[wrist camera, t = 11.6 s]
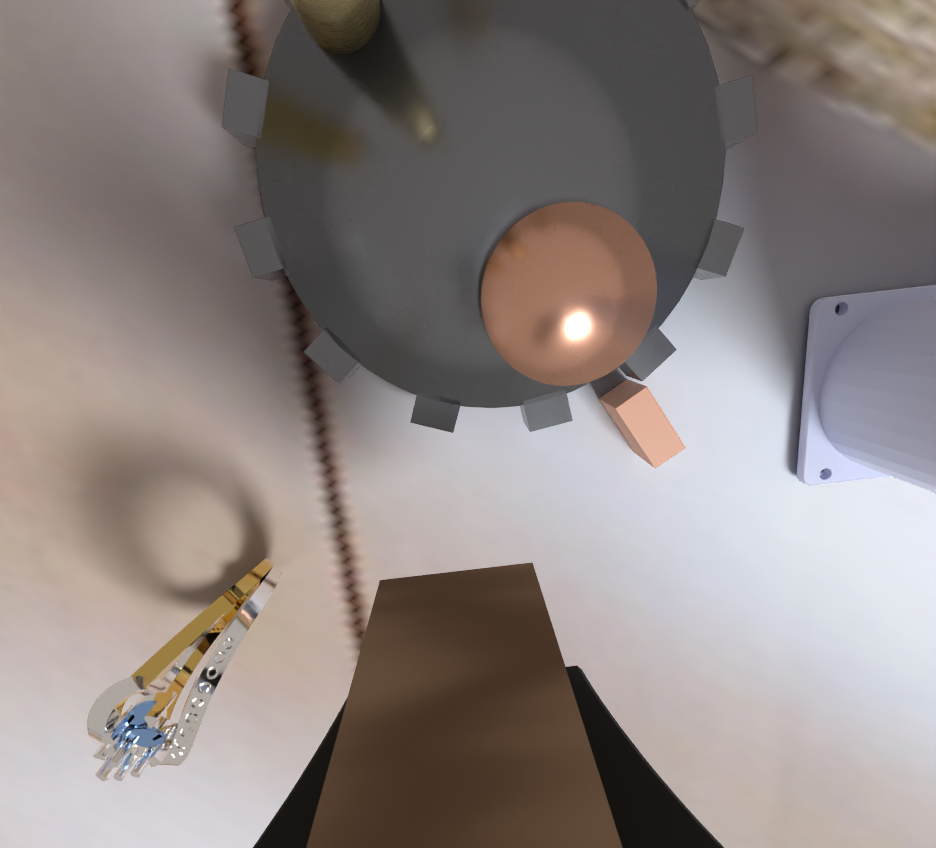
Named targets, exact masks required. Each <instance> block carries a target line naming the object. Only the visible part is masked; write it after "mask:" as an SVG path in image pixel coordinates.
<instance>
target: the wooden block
mask: <svg viewBox="0 0 936 848" xmlns="http://www.w3.org/2000/svg"><path fill="white" fill-rule="evenodd" d="M306 848H622V845H621V841H620V838H619V835H618V832H617V829H616V826H615V822H614V819H613V816H612V813H611V810H610V807H609V803H608V800H607V797H606V794H605V791H604V788H603V785H602V781H601V778H600V775H599V772H598V769H597V766H596V762H595V759H594V756H593V753H592V750H591V747H590V743H589V740H588V737H587V734H586V731H585V728H584V724H583V721H582V718H581V715H580V712H579V709H578V706H577V702H576V699H575V696H574V693H573V690H572V687H571V683H570V680H569V677H568V674H567V671H566V668H565V664H564V661H563V658H562V655H561V652H560V649H559V645H558V642H557V639H556V636H555V633H554V630H553V627H552V623H551V620H550V617H549V614H548V611H547V608H546V604H545V601H544V598H543V595H542V592H541V589H540V585H539V582H538V579H537V576H536V573H535V570H534V566H533V563H525V564H516V565H508V566H499V567H491V568H482V569H473V570H465V571H456V572H448V573H439V574H430V575H422V576H413V577H404V578H396V579H387V580H380V582H379V586H378V590H377V593H376V597H375V600H374V604H373V608H372V611H371V615H370V619H369V622H368V626H367V629H366V633H365V637H364V640H363V644H362V648H361V651H360V655H359V658H358V662H357V666H356V669H355V673H354V677H353V680H352V684H351V687H350V691H349V695H348V698H347V702H346V706H345V709H344V713H343V716H342V720H341V724H340V727H339V731H338V735H337V738H336V742H335V745H334V749H333V753H332V756H331V760H330V764H329V767H328V771H327V774H326V778H325V782H324V785H323V789H322V793H321V796H320V800H319V803H318V807H317V811H316V814H315V818H314V822H313V825H312V829H311V832H310V836H309V840H308V843H307V847H306Z"/></svg>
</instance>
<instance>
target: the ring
mask: <svg viewBox="0 0 936 848" xmlns="http://www.w3.org/2000/svg"><path fill="white" fill-rule="evenodd" d="M281 575H282V572H281V571H280V570H279V569H278V568H277V567H275V566H274V564H273V563H272V562H270V561H269V560H268V559H267V558H266V559H265V560H263V561H262V562H261V563H260V564H259V565H257V566H256V567H255V568H254V569H253V570H252V571H250V572H249V573H248V574H247V575H246V576H244V577H243V578H242V579H241V580H240V581H238V582H237V583H236V584H235V585H234V586H233V587H231V588H230V589H229V590H228V591H227V592H225V593H224V594H223V595H222V596H221V597H220V598H218V599H217V600H216V601H215V602H214V603H213V604H211V605H210V606H209V607H208V608H207V609H206V610H204V611H203V612H202V613H201V614H200V615H199V616H197V617H196V618H195V619H194V620H193V621H192V622H191V623H189V624H188V625H187V626H186V627H185V628H184V629H183V630H181V631H180V632H179V633H178V634H177V635H176V636H175V637H173V638H172V639H171V640H170V641H169V642H168V643H167V644H166V645H165V646H163V647H162V648H161V649H160V650H159V651H158V652H157V653H156V654H155V655H153V656H152V657H151V658H150V659H149V660H148V661H147V662H146V663H145V664H144V665H142V666H141V667H140V668H139V669H138V670H137V671H136V672H135V673H134V674H133V675H132V676H131V677H130V678H127V679H124V680H122V681H119V682H117V683H116V684H114V685H112V686H111V687H109V688H108V689H107V690H105V691H104V692H103V693H102V694H101V695H100V696H99V697H98V698H97V700H96V701H95V702H94V704H93V705H92V707H91V709H90V712H89V715H88V719H87V729H88V734H89V737H90V739H91V740H92V741H94V742H96V743H97V744H99V745H101V746H100V747H99V748H98V750H97V751H96V752H95V753H94V755H93V756H94V757H95V758H98V759H102V760H106V761H105V763H104V764H103V765H102V767H101V768H100V769H99V771H98V772H97V773H96V776H97V777H98V778H99V779H101V780H102V781H105V780H108V779H109V778H110V777H111V775H112V774H113V773H114V771H115V770H116V768H117V767H118V766H119V765H120V764H121V762H122V761H123V759H124V758H125V757H126V755H127V754H128V752H129V751H130V754H129V755H128V757H127V758H126V759H125V761H124V762H123V764H122V765H121V766H120V768H119V769H118V771H117V772H116V773H115V775H114V778H115V779H116V780H119V781H122V780H123V779H124V777H125V776H126V775H127V773H128V772H129V770H130V769H131V767H132V766H133V764H134V763H135V762H136V760H137V759H138V757H141V758H140V760H139V761H138V763H137V764H136V765H135V767H134V768H133V770H132V771H131V775H132V776H134V777H140V775H141V774H142V772H143V771H144V769H145V768H146V766H147V765H148V764H150V765H151V767H153V766H157V765H163V766H178V765H180V764H181V763H182V762H183V761H184V760H185V759H186V757H187V756H188V754H189V752H190V750H191V747H192V745H193V742H194V740H195V737H196V734H197V732H198V729H199V726H200V724H201V721H202V718H203V716H204V713H205V711H206V708H207V706H208V704H209V701H210V699H211V697H212V695H213V693H214V691H215V688H216V686H217V684H218V682H219V680H220V678H221V676H222V674H223V673H224V671H225V669H226V667H227V665H228V663H229V661H230V660H231V658H232V656H233V654H234V653H235V651H236V649H237V648H238V646H239V644H240V642H241V641H242V639H243V637H244V636H245V634H246V633H247V631H248V629H249V628H250V626H251V625H252V623H253V621H254V620H255V618H256V617H257V615H258V614H259V612H260V611H261V609H262V608H263V606H264V605H265V603H266V601H267V600H268V598H269V597H270V595H271V594H272V592H273V590H274V589H275V587H276V585H277V583H278V582H279V580H280V577H281ZM228 623H229V624H228ZM227 624H228V625H227ZM226 625H227V626H226ZM225 627H226V628H225ZM224 628H225V629H224ZM223 629H224V631H223V632H222V634H221V636H220V637H219V639H218V640H217V642H216V643H215V645H214V647H213V648H212V650H211V652H210V653H209V655H208V657H207V659H206V660H205V662H204V664H203V666H202V668H201V670H200V672H199V674H198V676H197V678H196V680H195V682H194V684H193V686H192V689H191V691H190V693H189V696H188V698H187V701H186V703H185V706H184V709H183V711H182V714H181V717H180V720H179V722H178V724H177V723H173V722H172V721H170V717H171V714H172V711H173V708H174V706H175V704H176V701H177V699H178V697H179V695H180V693H181V691H182V689H183V688H184V686H185V684H186V682H187V680H188V679H189V677H190V675H191V674H192V672H193V671H194V669H195V667H196V666H197V664H198V663H199V661H200V660H201V658H202V657H203V655H204V654H205V653H206V651H207V650H208V648H209V647H210V646H211V644H212V643H213V642H214V640H215V639H216V638H217V636H218V635H219V634H220V633H221V631H222V630H223ZM137 693H141V694H142V695H141V697H140V698H139V699H138V700H137V701H136V703H135V704H134V705H131V706H130V708H129V709H128V710H127V711H126V712H125V713H124V714H123V715H122V716H121V712H122V708H123V705H124V703H125V702H126V700H127V699H128V698H129V697H131V696H132V695H134V694H137Z"/></svg>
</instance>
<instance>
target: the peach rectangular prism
mask: <svg viewBox="0 0 936 848" xmlns="http://www.w3.org/2000/svg"><path fill="white" fill-rule="evenodd" d="M599 400H600V402H601V403H602V405H603V406H604V408H605V409H606V411H607V412H608V414H609V415H610V417H611V418H612V420H613V421H614V423H615V424H616V426H617V427H618V429H619V430H620V432H621V433H622V435H623V436H624V438H625V439H626V441H627V442H628V444H629V445H630V447H631V448H632V450H633V451H634V453H636V454H637V455H638V456H640V457H641V458H642V459H643V460H645V461H646V462H647V463H649V464H650V465H651V466H653V467H654V468H657V467H658V466H660V465H661V464H663V463H664V462H666V461H667V460H669V459H670V458H672V457H673V456H675V455H676V454H678V453H679V452H681V451H682V450H684V449H685V448H686V447H685V446H684V444H683V443H682V441H681V440H680V438H679V436H678V435H677V433H676V432H675V430H674V428H673V427H672V425H671V424H670V422H669V421H668V419H667V417H666V416H665V414H664V413H663V411H662V410H661V408H660V406H659V405H658V403H657V402H656V400H655V398H654V397H653V395H652V394H651V392H650V391H649V389H648V387H646V386H644V385H641V384H638V383H636V382H633V381H630V380H628V379H626V380H625V381H623V382H622V383H620V384H619V385H617V386H616V387H615V388H613V389H612V390H610V391H609V392H607V393H606V394H605V395H603V396H602V397H600V398H599Z"/></svg>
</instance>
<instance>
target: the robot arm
mask: <svg viewBox="0 0 936 848" xmlns="http://www.w3.org/2000/svg"><path fill="white" fill-rule="evenodd" d="M838 304H839V306H840V309H839V312H838V313H837V314H836V313H835V308H836V306H837V305H838ZM823 469H824V472H823V474H822V475H821V476H820V472H821V471H822V470H823ZM883 477H894V478H896V479H899V480H902V481H904V482H907V483H910V484H912V485H915V486H918V487H920V488H923V489H926V490H929V491H931V492H934V493H936V285H928V286H919V287H910V288H901V289H893V290H884V291H875V292H866V293H858V294H849V295H840V296H831V297H823V298H820V299H818V300H816V301H815V302H814V303H813V304H812V306H811V309H810V314H809V327H808V340H807V352H806V365H805V377H804V390H803V402H802V415H801V427H800V440H799V452H798V465H797V478H798V480H799V481H800V482H802V483H804V484H806V485H810V486H814V485H822V484H831V483H839V482H848V481H857V480H865V479H874V478H883ZM565 668H566V671H567V674H568V677H569V680H570V683H571V687H572V690H573V693H574V696H575V699H576V702H577V706H578V709H579V712H580V715H581V718H582V721H583V724H584V728H585V731H586V734H587V737H588V740H589V743H590V747H591V750H592V753H593V756H594V759H595V762H596V766H597V769H598V772H599V775H600V778H601V781H602V785H603V788H604V791H605V794H606V797H607V800H608V803H609V807H610V810H611V813H612V816H613V819H614V822H615V826H616V829H617V832H618V835H619V838H620V841H621V845H622V848H724V847H723V846H722V845H721V844H720V843H719V842H718V841H717V840H716V839H715V838H714V837H713V836H712V834H711V833H710V832H709V831H708V830H707V829H706V828H705V827H704V826H703V825H702V824H701V823H700V822H699V821H698V820H697V819H696V817H695V816H694V815H693V814H692V813H691V812H690V811H689V810H688V809H687V808H686V806H685V805H684V804H683V803H682V802H681V801H680V800H679V799H678V797H677V796H676V795H675V794H674V793H673V792H672V790H671V789H670V788H669V787H668V786H667V785H666V783H665V782H664V781H663V780H662V779H661V778H660V776H659V775H658V774H657V773H656V772H655V770H654V769H653V768H652V767H651V765H650V764H649V763H648V762H647V761H646V759H645V758H644V757H643V756H642V754H641V753H640V752H639V750H638V749H637V748H636V747H635V745H634V744H633V743H632V741H631V740H630V739H629V738H628V736H627V735H626V734H625V732H624V731H623V730H622V729H621V727H620V726H619V724H618V723H617V722H616V720H615V719H614V718H613V716H612V715H611V713H610V712H609V711H608V709H607V708H606V706H605V705H604V704H603V702H602V701H601V699H600V698H599V696H598V695H597V693H596V692H595V690H594V689H593V687H592V686H591V684H590V682H589V681H588V679H587V678H586V676H585V674H584V673H583V671H582V669H580V668H579V667H578V666H571V667H565ZM347 698H348V697H347ZM346 702H347V699H346V701H345V703H344V705H343V706H342V708H341V710H340V712H339V713H338V715H337V717H336V719H335V721H334V722H333V724H332V726H331V727H330V729H329V731H328V733H327V734H326V736H325V738H324V739H323V741H322V743H321V744H320V746H319V748H318V749H317V751H316V753H315V754H314V756H313V758H312V759H311V761H310V762H309V764H308V766H307V767H306V769H305V770H304V772H303V774H302V775H301V777H300V778H299V780H298V782H297V783H296V785H295V786H294V788H293V790H292V791H291V793H290V794H289V796H288V797H287V799H286V800H285V802H284V803H283V805H282V806H281V808H280V809H279V810H278V812H277V813H276V815H275V816H274V818H273V819H272V821H271V822H270V824H269V825H268V827H267V828H266V830H265V831H264V832H263V834H262V835H261V837H260V838H259V840H258V841H257V843H256V844H255V845H254V847H253V848H306V847H307V843H308V840H309V836H310V832H311V829H312V825H313V822H314V818H315V814H316V811H317V807H318V803H319V800H320V796H321V793H322V789H323V785H324V782H325V778H326V774H327V771H328V767H329V764H330V760H331V756H332V753H333V749H334V745H335V742H336V738H337V735H338V731H339V727H340V724H341V720H342V716H343V713H344V709H345V706H346Z"/></svg>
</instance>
